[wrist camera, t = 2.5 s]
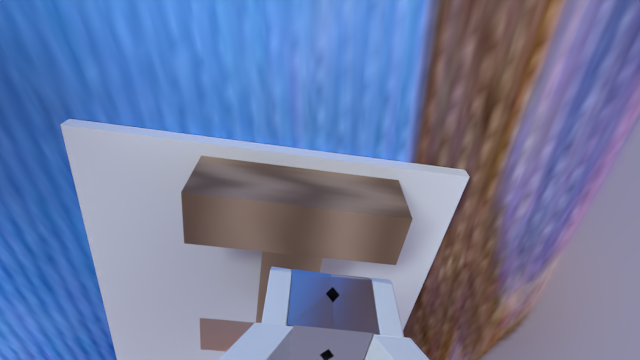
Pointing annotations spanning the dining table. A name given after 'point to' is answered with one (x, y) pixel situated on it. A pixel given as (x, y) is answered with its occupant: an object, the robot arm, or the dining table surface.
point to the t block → (293, 215)
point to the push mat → (208, 261)
